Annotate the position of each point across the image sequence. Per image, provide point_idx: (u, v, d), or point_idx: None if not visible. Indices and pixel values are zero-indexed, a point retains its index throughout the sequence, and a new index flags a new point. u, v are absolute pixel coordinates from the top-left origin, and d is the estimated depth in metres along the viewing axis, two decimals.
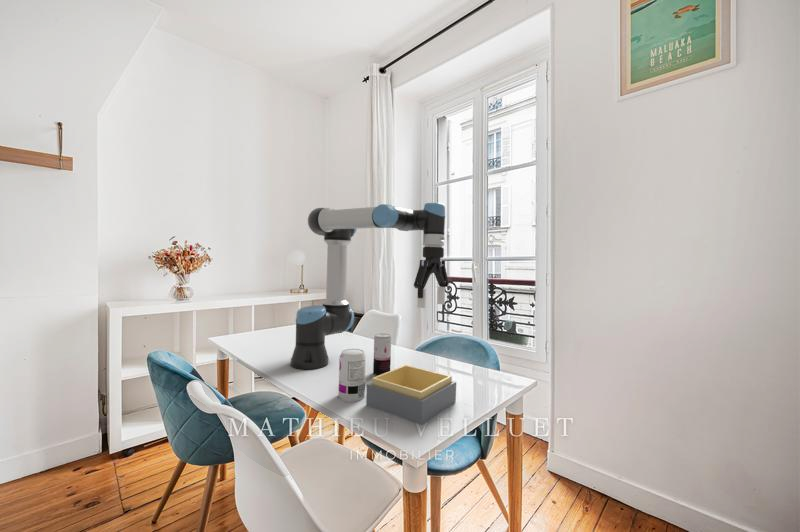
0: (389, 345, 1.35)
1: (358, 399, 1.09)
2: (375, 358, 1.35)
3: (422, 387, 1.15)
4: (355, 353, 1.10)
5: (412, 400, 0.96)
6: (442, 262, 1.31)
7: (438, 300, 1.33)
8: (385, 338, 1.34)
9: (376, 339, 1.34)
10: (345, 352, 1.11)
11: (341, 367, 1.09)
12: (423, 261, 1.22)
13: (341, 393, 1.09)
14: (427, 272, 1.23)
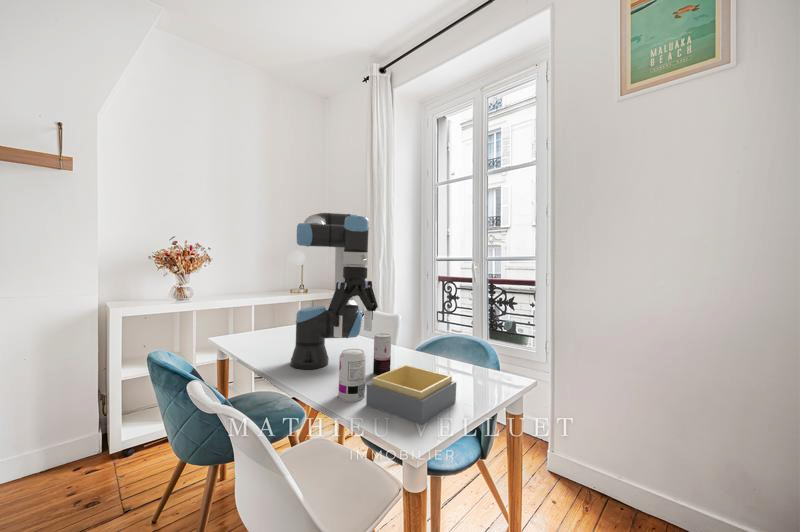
0: (389, 345, 1.35)
1: (358, 399, 1.09)
2: (375, 358, 1.35)
3: (422, 387, 1.15)
4: (355, 353, 1.10)
5: (412, 400, 0.96)
6: (368, 283, 1.15)
7: (365, 326, 1.17)
8: (385, 338, 1.34)
9: (376, 339, 1.34)
10: (345, 352, 1.11)
11: (341, 367, 1.09)
12: (339, 284, 1.05)
13: (341, 393, 1.09)
14: (345, 296, 1.07)
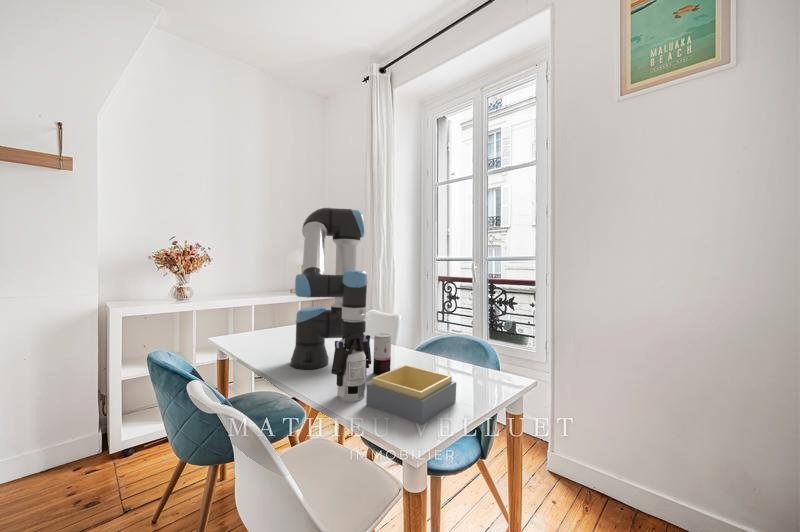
0: (389, 345, 1.35)
1: (358, 399, 1.09)
2: (375, 358, 1.35)
3: (422, 387, 1.15)
4: (355, 353, 1.10)
5: (412, 400, 0.96)
6: (366, 337, 1.16)
7: None
8: (385, 338, 1.34)
9: (376, 339, 1.34)
10: None
11: None
12: (337, 344, 1.06)
13: None
14: (346, 353, 1.08)
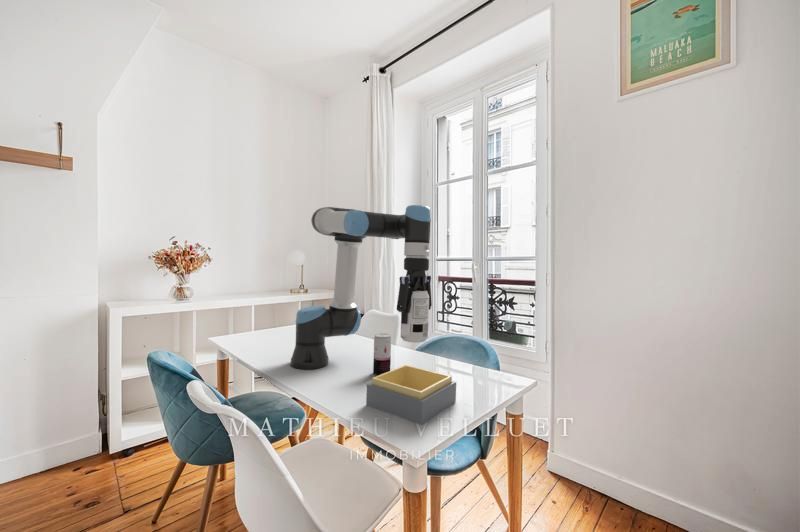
0: (389, 345, 1.35)
1: (423, 338, 1.04)
2: (375, 358, 1.35)
3: (422, 387, 1.15)
4: (419, 291, 1.06)
5: (412, 400, 0.96)
6: (427, 277, 1.11)
7: None
8: (385, 338, 1.34)
9: (376, 339, 1.34)
10: None
11: None
12: (403, 279, 1.02)
13: None
14: (410, 290, 1.04)
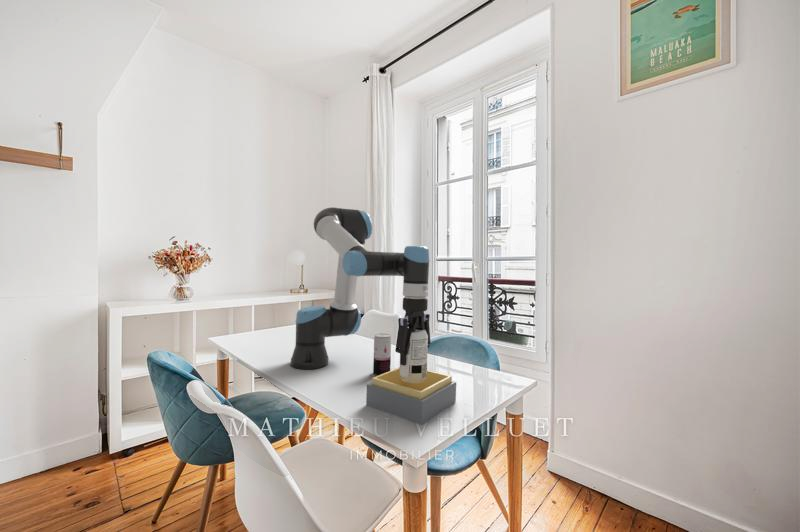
0: (389, 345, 1.35)
1: (422, 379, 1.05)
2: (375, 358, 1.35)
3: (422, 387, 1.15)
4: (417, 331, 1.06)
5: (412, 400, 0.96)
6: (426, 316, 1.11)
7: None
8: (385, 338, 1.34)
9: (376, 339, 1.34)
10: None
11: None
12: (401, 321, 1.02)
13: None
14: (409, 331, 1.04)
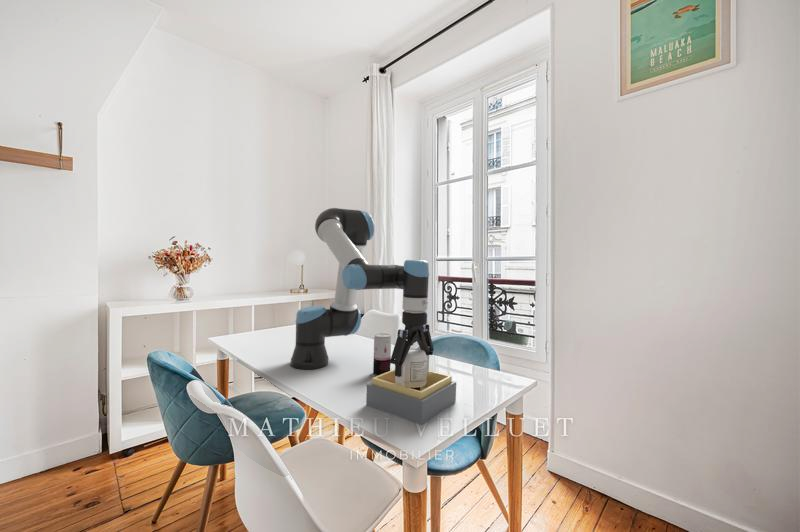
0: (389, 345, 1.35)
1: None
2: (375, 358, 1.35)
3: None
4: (417, 353, 1.07)
5: (412, 400, 0.96)
6: (426, 327, 1.12)
7: None
8: (385, 338, 1.34)
9: (376, 339, 1.34)
10: None
11: None
12: (401, 332, 1.02)
13: None
14: (407, 344, 1.04)
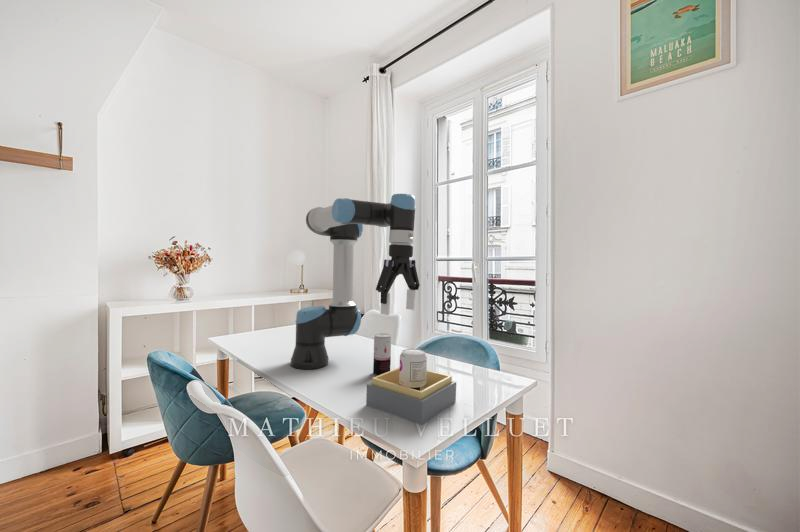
0: (389, 345, 1.35)
1: None
2: (375, 358, 1.35)
3: None
4: (416, 353, 1.07)
5: (412, 400, 0.96)
6: (412, 262, 1.15)
7: (407, 305, 1.18)
8: (385, 338, 1.34)
9: (376, 339, 1.34)
10: (406, 352, 1.08)
11: (402, 367, 1.06)
12: (387, 261, 1.06)
13: None
14: (393, 274, 1.08)
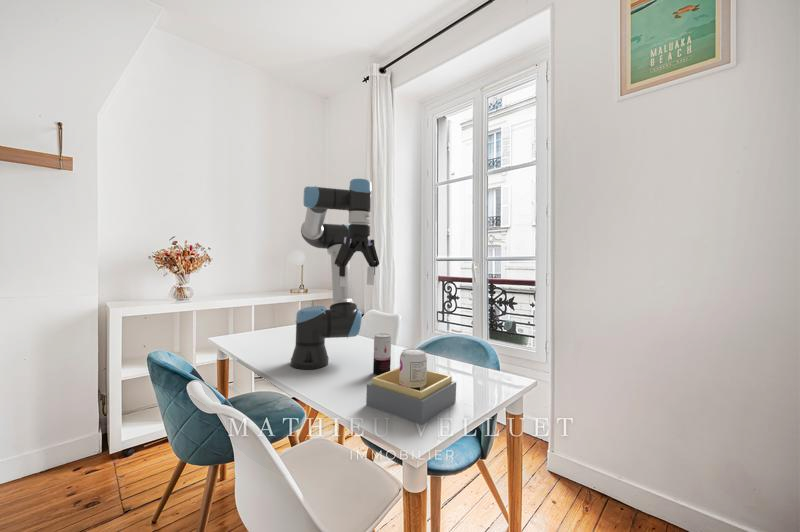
0: (389, 345, 1.35)
1: None
2: (375, 358, 1.35)
3: None
4: (416, 353, 1.07)
5: (412, 400, 0.96)
6: (371, 241, 1.28)
7: (368, 281, 1.30)
8: (385, 338, 1.34)
9: (376, 339, 1.34)
10: (406, 352, 1.08)
11: (403, 367, 1.06)
12: (345, 238, 1.18)
13: None
14: (351, 250, 1.20)
